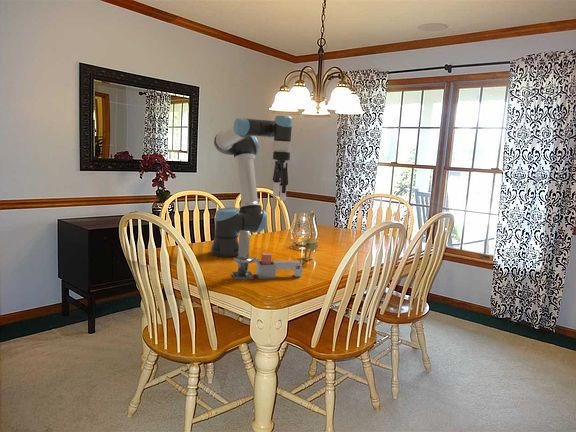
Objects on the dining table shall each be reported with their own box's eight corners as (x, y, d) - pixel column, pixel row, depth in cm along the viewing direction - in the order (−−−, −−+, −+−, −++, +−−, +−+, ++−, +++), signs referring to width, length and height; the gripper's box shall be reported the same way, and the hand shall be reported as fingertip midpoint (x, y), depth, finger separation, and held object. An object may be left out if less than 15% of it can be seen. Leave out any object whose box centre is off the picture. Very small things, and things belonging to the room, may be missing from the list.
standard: (232, 274, 196) (233, 229, 193) (255, 273, 199) (257, 229, 196) (234, 279, 189) (236, 232, 186) (258, 279, 191) (261, 233, 188)
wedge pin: (260, 275, 197) (261, 252, 196) (268, 275, 198) (269, 252, 197) (262, 277, 194) (263, 255, 192) (270, 277, 195) (271, 255, 193)
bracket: (255, 273, 199) (256, 259, 198) (298, 273, 204) (299, 259, 202) (258, 278, 192) (259, 264, 191) (303, 278, 197) (304, 263, 196)
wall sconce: (302, 255, 236) (305, 208, 232) (320, 258, 233) (323, 210, 229) (295, 262, 222) (298, 212, 218) (313, 264, 220) (317, 214, 216)
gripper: (297, 152, 190) (294, 202, 193) (283, 150, 214) (280, 195, 217) (279, 151, 188) (277, 202, 191) (267, 149, 212) (265, 194, 215)
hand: (279, 198), depth 204 cm, fingers open, 13 cm apart
